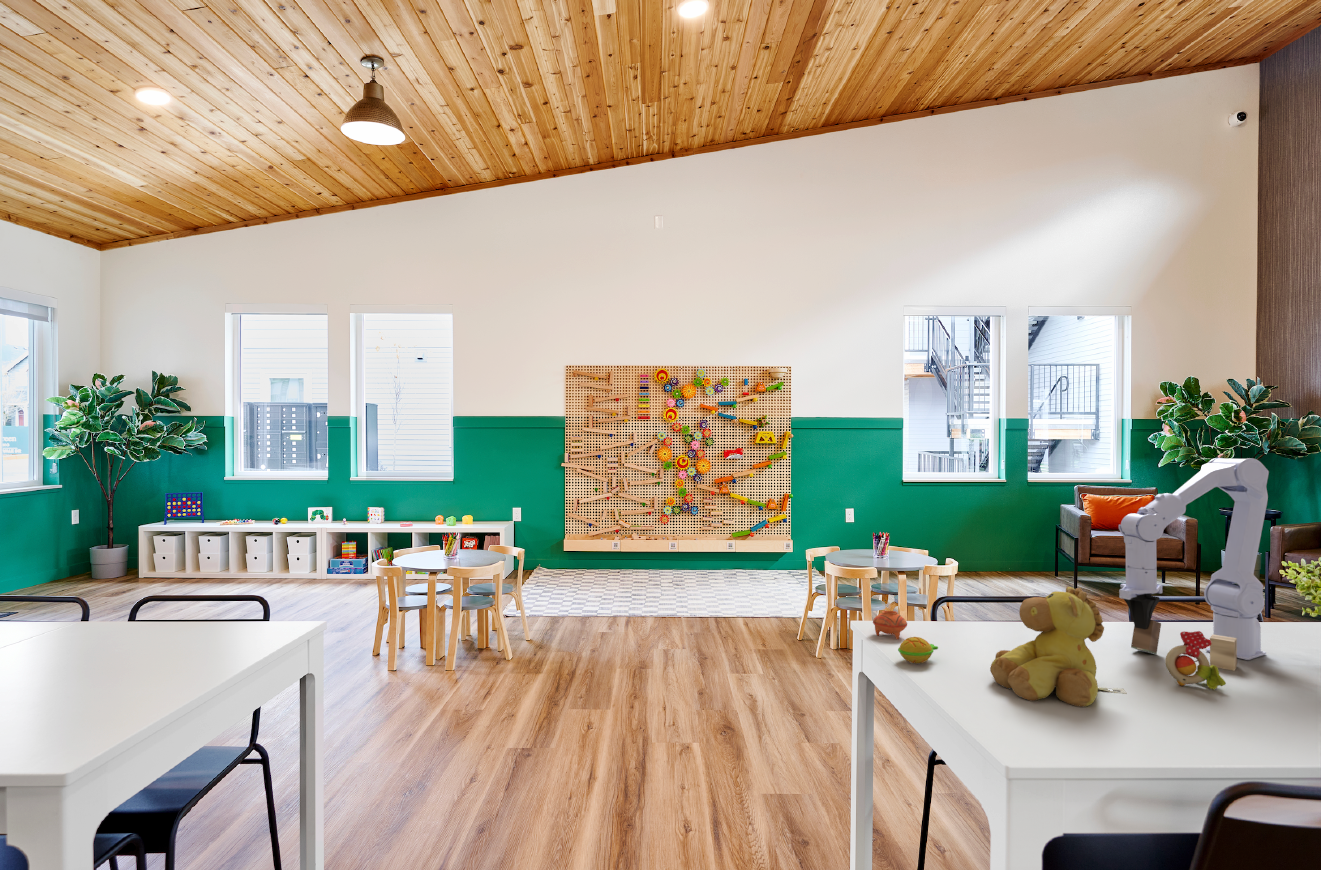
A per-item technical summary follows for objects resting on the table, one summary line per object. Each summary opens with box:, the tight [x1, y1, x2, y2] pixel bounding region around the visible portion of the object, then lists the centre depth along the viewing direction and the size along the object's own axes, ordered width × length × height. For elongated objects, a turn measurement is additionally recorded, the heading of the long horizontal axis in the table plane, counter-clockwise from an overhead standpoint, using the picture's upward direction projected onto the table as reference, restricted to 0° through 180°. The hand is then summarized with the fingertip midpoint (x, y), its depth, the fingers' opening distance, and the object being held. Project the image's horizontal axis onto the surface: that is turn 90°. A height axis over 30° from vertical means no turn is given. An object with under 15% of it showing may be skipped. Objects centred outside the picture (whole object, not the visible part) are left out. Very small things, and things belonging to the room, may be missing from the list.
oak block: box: [1209, 634, 1238, 671], centre depth 146 cm, size 4×4×6 cm
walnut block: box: [1130, 619, 1162, 655], centre depth 155 cm, size 4×4×7 cm
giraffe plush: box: [989, 586, 1127, 708], centre depth 132 cm, size 20×24×19 cm
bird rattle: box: [1164, 630, 1227, 691], centre depth 133 cm, size 6×11×9 cm
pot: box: [872, 610, 908, 640], centre depth 167 cm, size 8×8×7 cm
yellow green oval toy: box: [897, 636, 939, 665], centre depth 148 cm, size 7×10×5 cm
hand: (1141, 627), depth 154 cm, fingers closed
